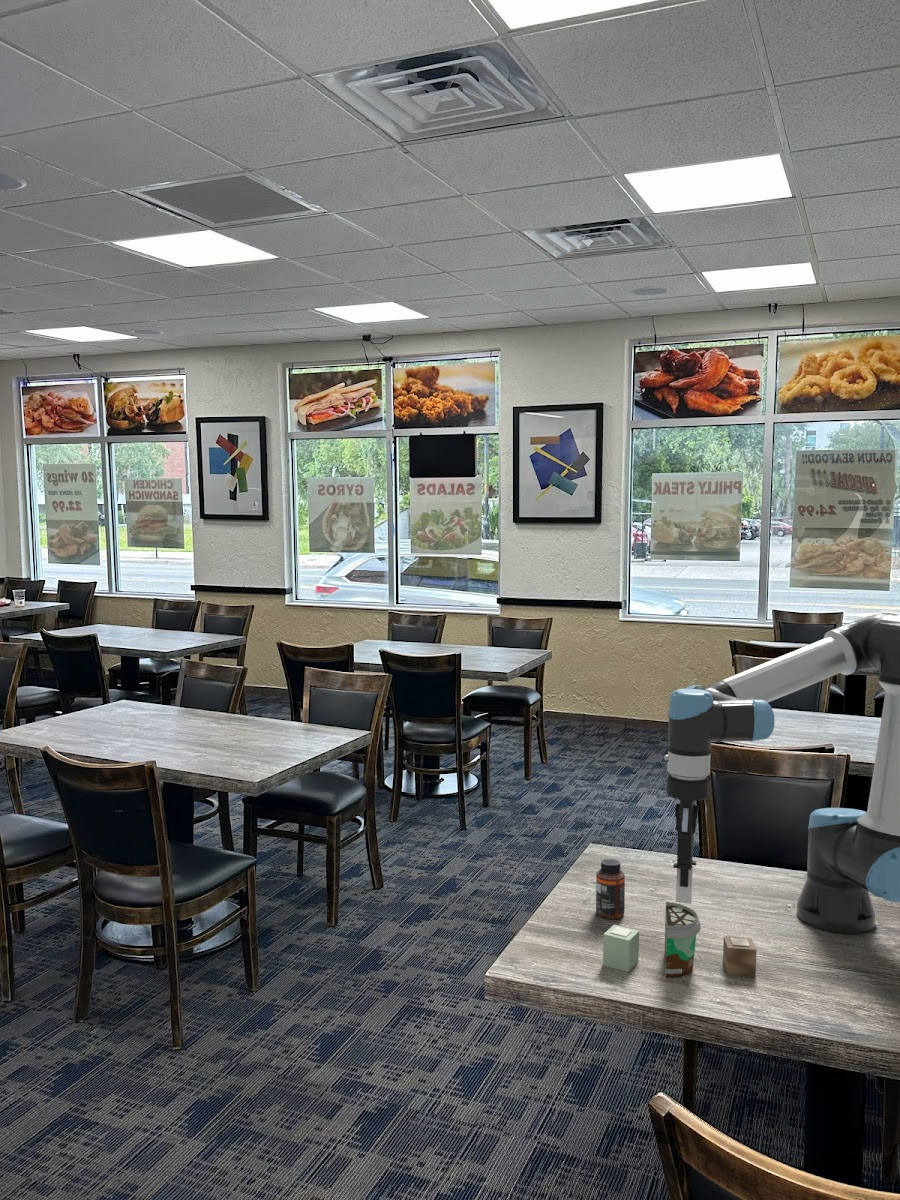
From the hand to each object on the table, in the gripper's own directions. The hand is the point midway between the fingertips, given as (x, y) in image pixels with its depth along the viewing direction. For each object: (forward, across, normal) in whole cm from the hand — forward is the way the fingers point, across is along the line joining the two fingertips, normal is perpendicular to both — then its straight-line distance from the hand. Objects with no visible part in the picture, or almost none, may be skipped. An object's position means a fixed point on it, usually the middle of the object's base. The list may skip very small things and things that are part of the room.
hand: (683, 901), depth 173 cm
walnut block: (+13, -3, +10) cm, 16 cm away
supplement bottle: (+13, -20, -16) cm, 29 cm away
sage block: (+13, +2, -11) cm, 17 cm away
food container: (+13, 0, 0) cm, 13 cm away
